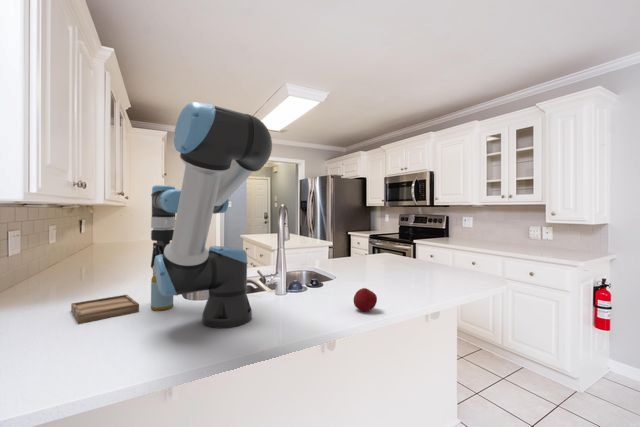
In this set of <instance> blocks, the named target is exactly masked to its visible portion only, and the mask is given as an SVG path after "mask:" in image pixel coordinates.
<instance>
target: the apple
mask: <svg viewBox="0 0 640 427" xmlns="http://www.w3.org/2000/svg"><path fill="white" fill-rule="evenodd" d="M377 301H378V297H377V295H376V294H375V292H374V291H372V290H370V289H368V288H366V287H363V288H360V289H358V290H357V291H356V292H355V294H354V297H353V305H354V307H355V308H356V309H357V310H359V311H361V312H363V313H364V312H365V313H366V312H367V313H368V312H370V311H372V310H373V309H374V308H375V307H376V305H377Z"/></svg>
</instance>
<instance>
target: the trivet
mask: <svg viewBox="0 0 640 427" xmlns="http://www.w3.org/2000/svg"><path fill="white" fill-rule="evenodd" d="M139 312H140V304H139V303H138V302H137V301H136V300H134V299H133V298H132V297H130V295H128V294H122V295H115V296H108V297H104V298H103V297H102V298H98V299H97V298H96V299H91V300H84V301H79V302H72V303H71V313H72V316H73V317H74V319H75V320H76V322H77V324H78V325H80V324H85V323H91V322H95V321H100V320H104V319H105V320H106V319H110V318H115V317H121V316H124V315H130V314H134V313H139Z"/></svg>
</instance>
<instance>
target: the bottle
mask: <svg viewBox="0 0 640 427" xmlns="http://www.w3.org/2000/svg"><path fill="white" fill-rule="evenodd" d="M150 283H151V284H150V288H151V289H150V309H151V310H153V311H156V312H158V311H167V310H170V309H171V308H172V307H173V306H174V296H163V295H161V293H160V292H159V290H158V286H157V282H156V276H155V267H154V266H153V269H152V277H151V281H150Z"/></svg>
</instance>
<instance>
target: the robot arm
mask: <svg viewBox="0 0 640 427" xmlns="http://www.w3.org/2000/svg"><path fill="white" fill-rule="evenodd" d="M173 144H174V145H173V146H174V149H175V150H176V151H177V152H178V153H180V154H179V157H180V159H181V161H182V162H183V163H184V165H185V166H184V167H185V168H184V172H183V178H182V183H181V189H178V188H177V189H176V187H175V186H174V185H173V186H172V185H166V184H165V185H164V184H158V185H157V184H156V185H153V186H152V187H151V218H150V228H151V231H150V232H151V233H150V240H151V241H153V243H152V253H151V254H152V255H151V262H150V269H151V270H153V266H154V267H155V276H156V282H157V286H158V290H159V292H160V293H161V295H163V296H173V297H174V296H180V295H185V294H192V293H197V292H204V291H208V297H207V300H206V303H205V306H204V309H203V311H202V315H201V318H202V319H201V322H202V325H204V326H206V327H209V328H218V329H219V328H220V329H221V328H223V329H224V328H226V329H227V328H235V327H237V326H242V325H244V324H246V323H248V322H250V321H251V319H252V317H253V316H252V313H253V310H252V308H251V304H250V300H249V298H248V295H247V292H248V291H247V288H248V286H247V285H248V283H247V282H248V253H247V252H246V250H245V249H243V248H238V247H231V246H220V245H212V246H211V245H210V246H209V248H208V249H207V248H206V243H207V239H208V235H209V231H210V227H211V223H212V218H213V215H214V214H216V215H217V214H224V213H226V212H227V211H228V208H229V201H230V200H229V198H231V196H232V195H233V194H234V193H235V192H236V191H237V190H238V189H239V188H240V187H241V186H242V185H243V183H244V182H245V181H246V180H247V179H248V178H249V177H250V176H251V174H253V173H255V172H258V171H260V170H261V169H262V168H263V167H264V166H265V165H266V164H267V163H268V161H269V159H270V157H271V155H272V152H273V151H272V150H273V140H272V136H271V133H270V131H269V128H268V127H267V125H265V123H264V122H263V121H261V120H260V119H259V118H258V117H256V116H254V115H252V114H249V113H243V112H239V111H235V110H232V109H228V108H225V107H222V106H221V107H220V106H217V105H213V104H211V103H204V102H199V101H198V102H197V101H192V102H191V101H190V102H189V103H187V104H186V105H185V106H184V107H183V108H182V110H181V112H180V114H179V116H178V118H177V121H176V124H175V129H174V137H173Z"/></svg>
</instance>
